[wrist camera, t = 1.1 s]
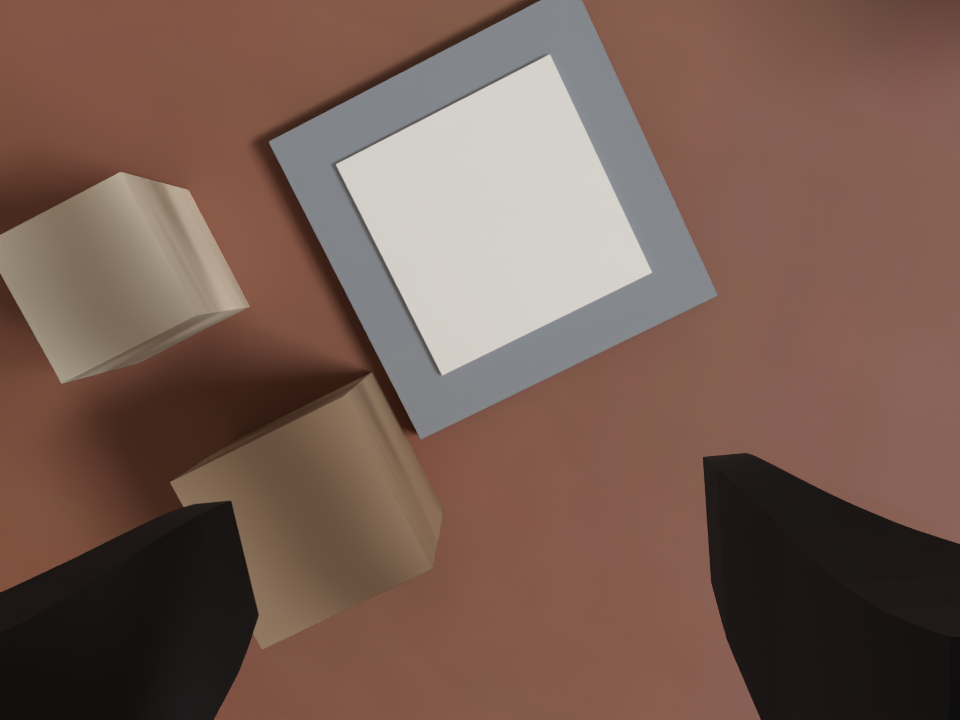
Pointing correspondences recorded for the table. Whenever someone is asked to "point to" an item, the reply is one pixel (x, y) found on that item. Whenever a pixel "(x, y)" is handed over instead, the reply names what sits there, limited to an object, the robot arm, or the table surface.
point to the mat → (495, 214)
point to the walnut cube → (323, 507)
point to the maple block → (117, 275)
